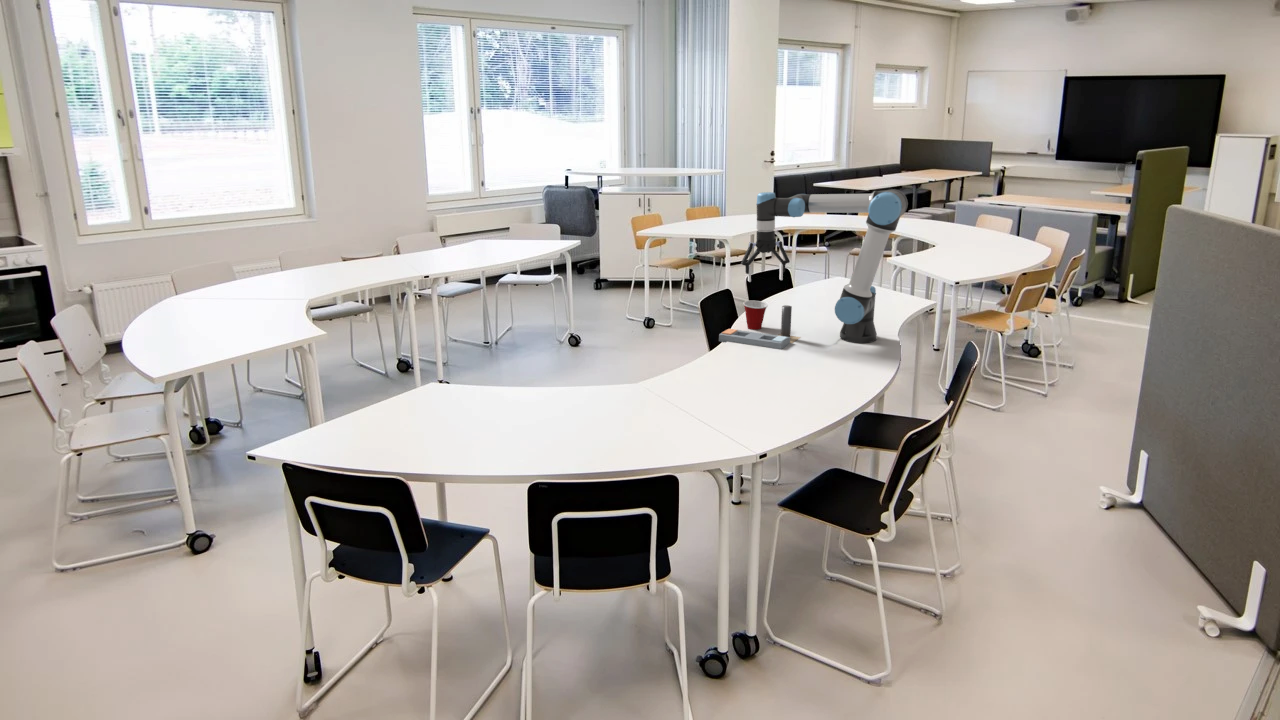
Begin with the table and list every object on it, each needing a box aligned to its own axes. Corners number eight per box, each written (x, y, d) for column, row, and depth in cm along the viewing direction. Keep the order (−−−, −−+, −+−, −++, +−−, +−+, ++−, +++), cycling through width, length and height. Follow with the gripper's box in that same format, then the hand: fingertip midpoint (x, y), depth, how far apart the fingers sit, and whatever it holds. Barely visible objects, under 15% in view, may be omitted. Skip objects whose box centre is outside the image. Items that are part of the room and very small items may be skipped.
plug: (791, 338, 350) (793, 306, 346) (788, 340, 347) (789, 308, 343) (782, 336, 352) (784, 304, 348) (779, 339, 349) (780, 307, 344)
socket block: (790, 344, 344) (790, 336, 343) (780, 350, 336) (781, 342, 334) (729, 335, 357) (729, 327, 356) (718, 341, 349) (719, 333, 348)
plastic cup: (758, 334, 359) (759, 307, 355) (737, 330, 365) (738, 303, 362) (771, 328, 367) (772, 302, 363) (751, 324, 373) (751, 298, 369)
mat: (800, 338, 351) (800, 337, 351) (792, 344, 343) (792, 343, 343) (778, 335, 356) (778, 334, 356) (769, 341, 348) (769, 339, 348)
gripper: (792, 227, 347) (792, 277, 353) (734, 230, 345) (734, 280, 352) (797, 230, 340) (796, 280, 346) (737, 233, 338) (737, 283, 345)
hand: (765, 280), depth 349 cm, fingers open, 13 cm apart
